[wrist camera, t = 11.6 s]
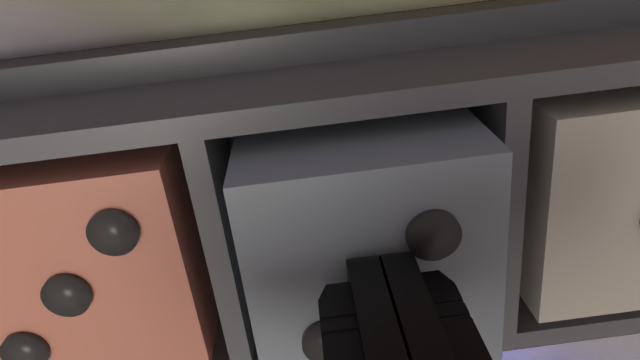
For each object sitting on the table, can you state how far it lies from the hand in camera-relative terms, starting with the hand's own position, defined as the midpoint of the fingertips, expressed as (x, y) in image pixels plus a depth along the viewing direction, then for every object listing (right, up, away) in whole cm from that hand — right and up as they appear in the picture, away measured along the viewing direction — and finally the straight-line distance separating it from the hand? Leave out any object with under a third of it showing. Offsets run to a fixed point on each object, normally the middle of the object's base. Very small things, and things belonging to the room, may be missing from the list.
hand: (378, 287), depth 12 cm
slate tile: (0, +1, +3) cm, 4 cm away
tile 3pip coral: (-8, +1, +4) cm, 9 cm away
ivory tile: (+7, +3, +5) cm, 9 cm away
